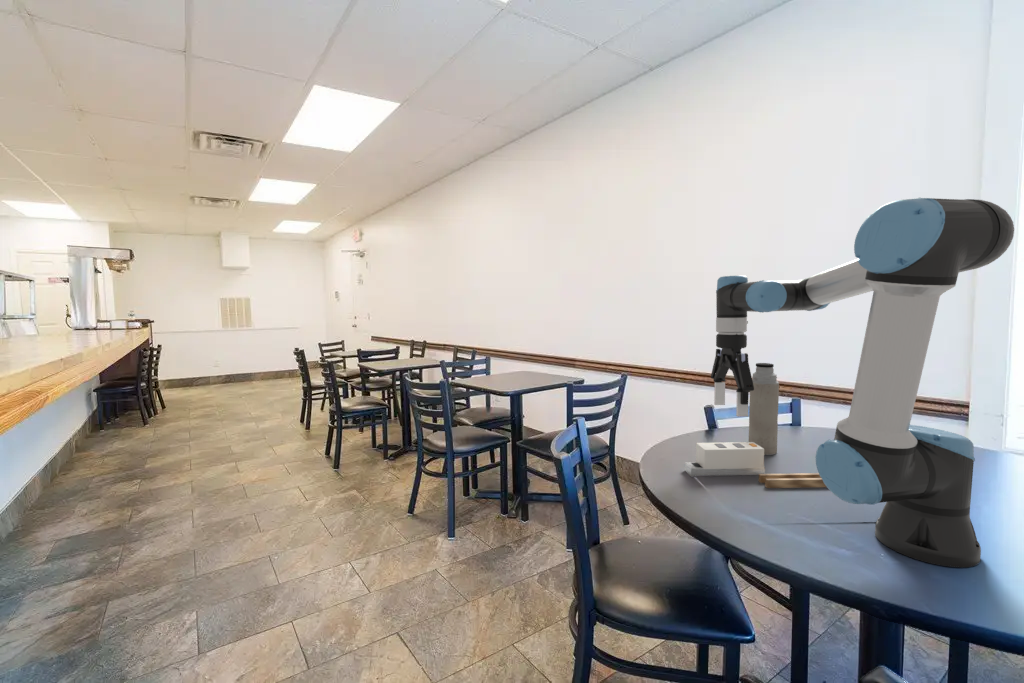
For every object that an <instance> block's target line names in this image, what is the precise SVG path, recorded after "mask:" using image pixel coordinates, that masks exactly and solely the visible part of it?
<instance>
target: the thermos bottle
mask: <svg viewBox="0 0 1024 683" xmlns="http://www.w3.org/2000/svg"><path fill="white" fill-rule="evenodd" d="M751 377H752V381H753V386H754V390H753V391H750V392H749V401H748V442H754V443H756V444H757V445H759V446H760V447H762V448H764V456H765V455H767V456H772V455H773V456H774V455H776V454H777V453H778V433H779V432H778V429H779V427H778V425H779V422H778V418H779V401H780V400H779V396H780V394H779V393H780V383H779V382H780V381H778V380H777V378H778V376H777V374H776V373H775V372H774V364H773V363H770V362H757V363H755V372H753V373H752V375H751Z"/></svg>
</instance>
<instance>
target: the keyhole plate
mask: <svg viewBox="0 0 1024 683" xmlns="http://www.w3.org/2000/svg"><path fill="white" fill-rule="evenodd" d="M684 471H685V472H686V474H687V475H688V476H690V478H696V477H697V476H698V477H699V476H701V477H703V476H759V474H766V467H765V466H764V468H746V469H704V468H703V467H702V466H700V465H699V464H698V463H697V462H696V461H693V462H692V461H689V462H687V461H685V462H684Z"/></svg>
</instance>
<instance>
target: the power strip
mask: <svg viewBox="0 0 1024 683" xmlns="http://www.w3.org/2000/svg"><path fill="white" fill-rule="evenodd" d="M695 462H697V463H698V464H699V465H700V466H702V467H703V468H704V469H746V468H764V467H765V455H764V448H762V447H760V446H759V445H757V444H756V443H754V442H749V441H745V442H744V441H736V442H735V441H734V442H733V441H731V442H730V441H729V442H728V441H727V442H726V441H725V442H722V441H721V442H696V443H695Z"/></svg>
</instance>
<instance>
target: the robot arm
mask: <svg viewBox="0 0 1024 683" xmlns="http://www.w3.org/2000/svg"><path fill="white" fill-rule="evenodd" d="M1014 234H1015V225H1014V221H1013V220H1012V218H1011V216H1010V214H1009V213H1008V211H1007V210H1005V209H1004V208H1003V207H1001V206H1000V205H998V204H996V203H994V202H991V201H988V200H983V199H975V198H974V199H969V198H967V199H966V198H965V199H957V198H955V199H954V198H934V197H933V198H932V197H931V198H930V197H918V198H909V199H907V198H906V199H899V200H894V201H891V202H888V203H885V204H884V205H881V206H880V207H879V208H877V209H876V210H875V211H874V212H873V213H872V214H870V215H868V217H867V218H865V220H864V221H863V222H862V224H861V226H859V229H858V231H857V233H856V236H855V239H854V246H853V251H854V257H856V258H857V259H854V260H851V261H849V262H846V263H843V264H841V265H838V266H835V267H833V268H829V269H827V270H825V271H824V270H823V271H821V272H819V273H817V274H813V275H812V276H809V277H807V278H803V279H798V280H770V279H769V280H768V279H767V280H764V279H763V280H759V281H750V282H749V280H748V279H749V278H748V276H746V275H727V276H726V275H723V276H720V277H718V279H717V281H716V282H717V283H716V290H715V291H716V292H715V293H716V299H715V300H716V301H715V302H716V303H715V304H716V305H715V306H716V318H715V332H716V333H717V334H716V335H715V338H716V339H715V346H716V349H715V357H714V360H713V365H712V370H711V374H710V378H711V379H712V380H713V383H714V397H713V398H714V400H713V401H714V406H725V405H726V381H727V380H726V377H727V374H728V372H729V370H730V371H731V372H732V375H733V378H734V380H735V383H736V386H737V389H736V404H735V405H736V406H735V407H736V408H735V409H736V413H735V414H736V415H735V416H736V417H742V418H743V417H749V401H750V391H753V390H754V386H753V381H752V380H753V378H752V372H751V367H750V365H749V364H750V363H749V355H748V352H742V349H746V348H747V345H748V344H747V343H748V335H747V334H746V333H747V331H748V324H749V321H748V312H751V313H754V312H755V313H772V312H788V311H793V312H794V311H806V312H807V311H808V312H812V311H817V310H823V309H826V308H827V307H828V306H829V305H830V304H831V303H835V302H838V301H841V300H845V299H849V298H853V297H856V296H859V295H863V294H867V293H870V292H873V293H872V294H873V295H872V298H871V303H870V308H869V314H868V319H867V322H866V328H865V333H864V338H863V343H862V347H861V348H862V349H861V354H860V358H859V359H860V360H859V362H858V368H857V374H856V378H855V383H854V388H853V392H852V399H851V403H850V409H849V414H848V416H847V417H844V418H843V419H841V420H839V421H837V424H836V429H835V434H834V438H833V439H827V440H826V441H824V442H823V443H820V445H819V446H818V447H817V449H816V453H815V464H816V465H815V466H816V470H817V473H819V475H820V477H821V478H822V480H823V482H824V484H825V485H826V486H827V487H826V488H827V489H828V490H829V491H830V493H832V494H833V495H834V496H835V497H837V498H838V499H839V500H841V501H844V502H846V503H848V504H852V505H876V504H880V503H881V504H882V503H885V505H884V507H883V508H882V511H881V513H880V516H879V517H877V519H876V522H875V524H874V525H875V527H874V535H875V537H876V539H877V540H878V541H879V542H880V543H882V544H883V545H884V546H886V547H888V548H889V549H891V550H892V551H895V552H897V553H899V554H901V555H904V556H906V557H909V558H911V559H914V560H918V561H921V562H924V563H928V564H932V565H937V566H942V567H949V568H971V567H972V568H973V567H974V566H978V565H979V564H980V562H981V555H982V548H981V544H980V543H979V541H978V538H977V535H976V531H975V527H974V525H973V523H972V519H971V517H970V516H971V504H972V503H971V501H972V487H973V473H974V462H975V461H976V458H975V450H974V448H975V447H974V443H973V442H972V441H971V439H969V438H968V437H966V436H964V435H962V434H958V433H955V432H952V431H948V430H943V429H938V428H935V427H928V426H923V425H916V424H911V421H912V417H913V412H914V408H915V404H916V400H917V396H918V391H919V387H920V383H921V379H922V374H923V369H924V366H925V362H926V356H927V352H928V348H929V344H930V341H931V335H932V330H933V327H934V323H935V318H936V314H937V310H938V306H939V301H940V297H941V296H942V295H943V294H945V293H946V292H948V291H949V290H951V289H953V288H954V287H956V285H957V281H958V277H959V274H960V273H963V272H967V271H972V270H976V269H979V268H980V269H981V268H982V267H985V266H988V265H990V264H991V263H993V262H995V261H996V260H997V259H999V258H1000V257H1001V256H1002V255H1004V253H1006V252H1007V250H1008V249H1009V247H1010V245H1011V244H1012V242H1013V239H1014Z"/></svg>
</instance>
